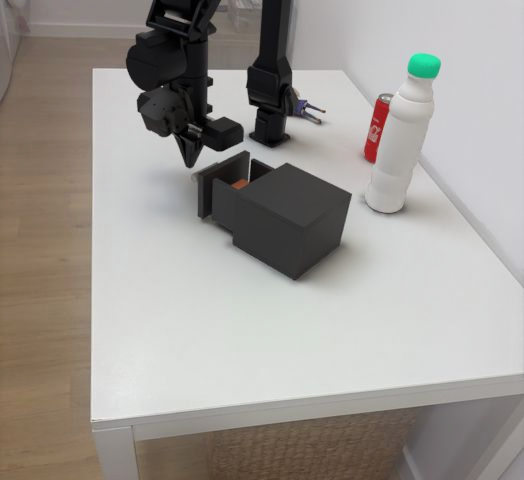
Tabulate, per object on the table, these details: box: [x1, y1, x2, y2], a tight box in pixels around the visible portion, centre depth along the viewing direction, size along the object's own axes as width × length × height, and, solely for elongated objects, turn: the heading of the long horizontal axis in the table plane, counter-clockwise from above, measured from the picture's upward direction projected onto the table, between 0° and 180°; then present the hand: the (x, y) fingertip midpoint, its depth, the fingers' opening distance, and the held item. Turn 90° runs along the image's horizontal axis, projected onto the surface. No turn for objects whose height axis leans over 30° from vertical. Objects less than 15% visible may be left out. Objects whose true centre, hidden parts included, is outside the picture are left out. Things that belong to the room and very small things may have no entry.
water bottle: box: [364, 52, 442, 214], centre depth 88 cm, size 7×7×25 cm
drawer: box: [190, 149, 276, 232], centre depth 86 cm, size 16×11×8 cm
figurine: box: [293, 87, 327, 124], centre depth 118 cm, size 6×4×15 cm
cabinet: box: [232, 162, 353, 281], centre depth 82 cm, size 13×13×10 cm
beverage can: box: [363, 92, 395, 164], centre depth 104 cm, size 5×5×12 cm
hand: (189, 167), depth 90 cm, fingers closed
